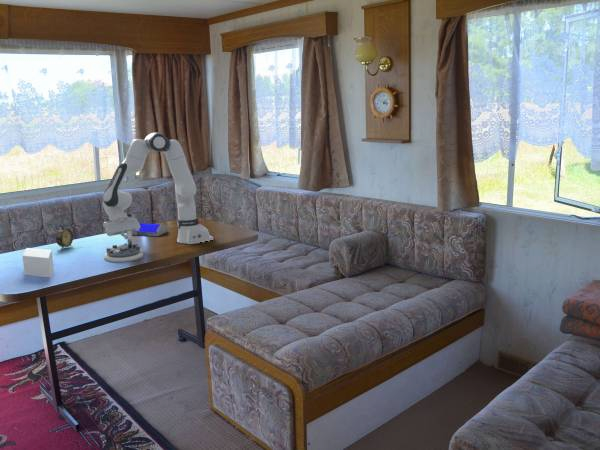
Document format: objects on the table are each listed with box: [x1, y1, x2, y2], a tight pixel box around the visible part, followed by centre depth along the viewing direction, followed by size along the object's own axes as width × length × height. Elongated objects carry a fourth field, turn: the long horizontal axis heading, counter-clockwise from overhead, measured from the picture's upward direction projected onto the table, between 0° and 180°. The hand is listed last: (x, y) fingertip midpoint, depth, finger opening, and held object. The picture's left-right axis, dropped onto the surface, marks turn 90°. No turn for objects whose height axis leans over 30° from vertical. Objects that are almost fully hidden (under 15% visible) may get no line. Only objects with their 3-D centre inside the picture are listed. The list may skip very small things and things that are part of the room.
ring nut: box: [105, 231, 141, 257], centre depth 305 cm, size 18×18×11 cm
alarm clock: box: [55, 221, 74, 251], centre depth 325 cm, size 11×5×16 cm, turn 168°
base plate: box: [103, 244, 144, 263], centre depth 306 cm, size 21×21×6 cm
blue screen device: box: [131, 222, 167, 237], centre depth 361 cm, size 22×14×7 cm, turn 76°
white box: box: [21, 247, 54, 278], centre depth 281 cm, size 14×29×10 cm, turn 46°
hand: (128, 238), depth 314 cm, fingers closed
